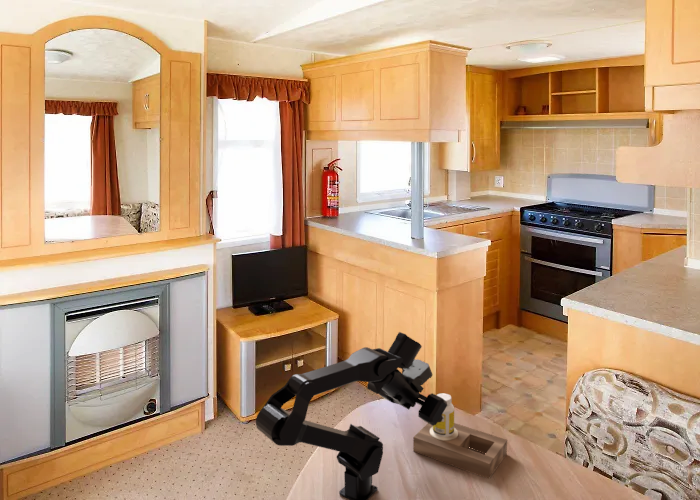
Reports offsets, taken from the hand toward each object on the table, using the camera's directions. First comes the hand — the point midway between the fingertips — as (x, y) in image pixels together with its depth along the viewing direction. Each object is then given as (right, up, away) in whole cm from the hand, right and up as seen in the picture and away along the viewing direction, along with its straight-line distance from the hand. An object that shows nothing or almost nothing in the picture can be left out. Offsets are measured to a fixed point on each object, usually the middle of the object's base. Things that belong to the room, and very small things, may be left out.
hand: (427, 412), depth 131 cm
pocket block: (+9, -11, +4) cm, 15 cm away
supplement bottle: (+5, -7, +5) cm, 10 cm away
